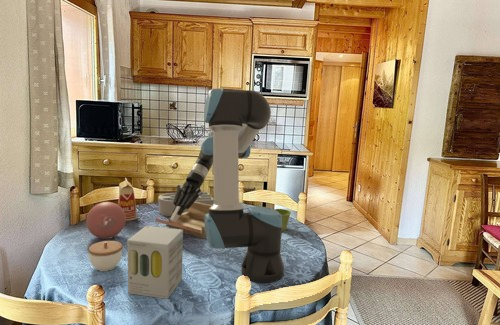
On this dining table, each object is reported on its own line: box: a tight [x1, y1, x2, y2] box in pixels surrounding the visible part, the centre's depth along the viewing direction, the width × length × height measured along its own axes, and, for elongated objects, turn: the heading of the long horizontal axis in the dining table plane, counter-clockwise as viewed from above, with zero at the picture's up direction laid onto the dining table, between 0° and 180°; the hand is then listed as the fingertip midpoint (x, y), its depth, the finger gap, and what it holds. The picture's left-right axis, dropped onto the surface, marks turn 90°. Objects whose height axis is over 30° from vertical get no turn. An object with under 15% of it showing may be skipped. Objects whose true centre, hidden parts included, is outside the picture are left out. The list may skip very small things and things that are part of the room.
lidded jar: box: [88, 240, 123, 272], centre depth 121 cm, size 11×11×9 cm
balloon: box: [85, 201, 127, 240], centre depth 144 cm, size 15×20×15 cm
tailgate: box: [155, 218, 201, 233], centre depth 151 cm, size 2×16×12 cm
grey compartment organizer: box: [157, 191, 214, 218], centre depth 187 cm, size 17×28×9 cm, turn 107°
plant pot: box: [273, 208, 292, 232], centre depth 168 cm, size 9×9×9 cm
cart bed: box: [168, 202, 212, 239], centre depth 163 cm, size 16×20×10 cm
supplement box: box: [127, 225, 184, 300], centre depth 110 cm, size 13×13×18 cm
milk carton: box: [117, 177, 138, 222], centre depth 171 cm, size 9×9×20 cm
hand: (172, 220), depth 147 cm, fingers closed
